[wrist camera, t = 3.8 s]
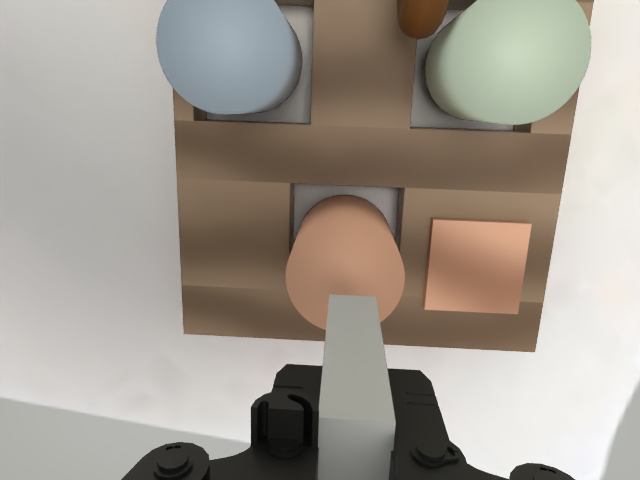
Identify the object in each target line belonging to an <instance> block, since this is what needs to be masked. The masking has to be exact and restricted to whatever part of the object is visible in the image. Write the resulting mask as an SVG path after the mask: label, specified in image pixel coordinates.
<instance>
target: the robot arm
mask: <svg viewBox="0 0 640 480" xmlns="http://www.w3.org/2000/svg"><path fill="white" fill-rule="evenodd" d="M122 480H575V479H574V478H572V477H571V476H570V475H568V474H566V473H564V472H562V471H560V470H558V469H556V468H554V467H550V466H547V465H543V464H534V463H526V464H523V465H519V466H516V467H515V468H514V470H513V471H512V472H511V473H510V478H509V479H506V478H503V477H499V476H496V475H493V474H489V473H486V472H484V471H481V470H478V469H476V468H474V467H473V466H471V465H469V464H467V462H466V459H465V457H464V455H463V453H462V452H461V450H460V449H459V448H458V447H457V446H456V445H454V444H453V443H452V442H451V441H449V438H448V434H447V431H446V428H445V425H444V422H443V418H442V415H441V412H440V409H439V406H438V402H437V399H436V396H435V393H434V389H433V386H432V383H431V381H430V380H429V379H428V378H427V377H426V376H425V375H424V374H423V373H422V372H421V371H420V370H405V369H388V368H387V364H386V357H385V351H384V345H383V338H382V332H381V325H380V319H379V313H378V306H377V300H376V297H375V296H356V295H337V294H329V305H328V316H327V326H326V337H325V347H324V358H323V366H311V365H294V364H286V365H285V366H284V367H283V368H282V369H281V370H280V371H279V372H278V373H277V374H276V377H275V381H274V385H273V389H272V392H271V393H267V394H264V395H263V396H261V397H260V398H258V399H256V400H255V402H254V403H253V405H252V406H251V446H250V448H248V449H247V450H246V451H244V452H241V453H239V454H237V455H234V456H230V457H226V458H220V459H214V460H209V455H208V454H207V453H206V451H205V450H204V449H203V448H202V447H199V446H197V445H195V444H193V443H183V442H177V443H172V444H165V445H163V446H161V447H158V448H156V449H154V450H152V451H151V452H149V453H148V454H147V455H145V456H144V457H143V458H142V459H141V460H140V461H139V462H138V463H137V464H136V465H135V466H134V467H133V468H132V469H131V470H130V471H129V472H128V473H127V474H126V475H125V476H124V477H123V479H122Z"/></svg>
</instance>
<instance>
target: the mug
mask: <svg viewBox="0 0 640 480" xmlns="http://www.w3.org/2000/svg"><path fill="white" fill-rule="evenodd" d="M448 3H449V0H397V17H398V24H399V26H400V28H401V30H402V32H403V33H405V34H406V35H407V36H408V37H412V38H415V39H422V38H427V37H428V36H430V35H432V34H433V33H434V32H435V31H436V30H437V28H438V27H439V26H440V25H441V23H442V21H443V18H444V16H445V13H446V10H447V6H448Z"/></svg>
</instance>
